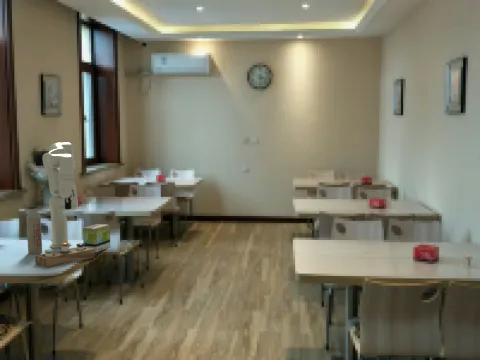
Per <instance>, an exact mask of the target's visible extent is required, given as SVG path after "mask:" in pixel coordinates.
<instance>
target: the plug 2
mask: <svg viewBox="0 0 480 360" xmlns="http://www.w3.org/2000/svg"><path fill="white" fill-rule="evenodd" d="M84 246H85V244H84V243H83V242H82V243H81V242H80V243H79V242H78V243H77V244H76V247H77V250H84Z"/></svg>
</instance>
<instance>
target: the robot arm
mask: <svg viewBox="0 0 480 360" xmlns="http://www.w3.org/2000/svg"><path fill="white" fill-rule="evenodd" d="M48 150H49V151H48V152H46V153H44V154H43V155H42V164H43V167H44V169H45V172H46V174H47V178H48V179H47V180H48V187H49V192H50V194H51V195H52V197H51V198H50V199H49V200H48V207H49V211H50V220H51V221H50V222H51V223H50V224H51V239H50V242H51V243H50V244H49V247H50V248H53V249H57V248H58V249H59V248H60V249H61V243H69V247H70V246H72V243H71V242H69V235H68V234H69V233H68V232H69V231H68V218H67V216H66V214H65V213H63V212H68V211H75V210H77V209H78V207H79V201H78V192H77V187H76V182H75V181H74V180H75V175H74V173H75V172H74V171H75V170H74V164H75V157H74V156H75V147H74V145H73V144H72V143H70V142H55V143H52V144H51V145H50V146H49V149H48Z"/></svg>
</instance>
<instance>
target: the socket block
mask: <svg viewBox="0 0 480 360" xmlns="http://www.w3.org/2000/svg"><path fill="white" fill-rule="evenodd" d="M95 253H96V252H94V249H93V248H89V247H84V250H77V246H76V247H75V246H74V247H69V253H64V254H63V253H62V250H56V251H53V256H50V257H45V253H40V254H34V258H35V259H34V261H35V265H36V266H39V267H43V268H51V267H57V266H61V265H66V264H70V263H76V262H80V261H83V260H88V259H94V258H95Z"/></svg>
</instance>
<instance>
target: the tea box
mask: <svg viewBox="0 0 480 360" xmlns="http://www.w3.org/2000/svg"><path fill="white" fill-rule="evenodd" d="M82 237H83V238H82V239H83V240H82V241H83V242H82V243H84V244H85V246H84V247H89V248H93V249H94V253H98V252H100V251H101V252H102V251H104V250H106V249H110V248H111V224H101V223H96V224H93V225H92V224H91V225H89V226H88V225H87V226H85V227H83V228H82Z"/></svg>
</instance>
